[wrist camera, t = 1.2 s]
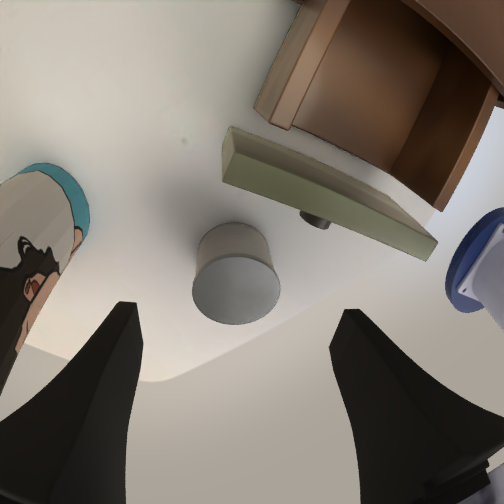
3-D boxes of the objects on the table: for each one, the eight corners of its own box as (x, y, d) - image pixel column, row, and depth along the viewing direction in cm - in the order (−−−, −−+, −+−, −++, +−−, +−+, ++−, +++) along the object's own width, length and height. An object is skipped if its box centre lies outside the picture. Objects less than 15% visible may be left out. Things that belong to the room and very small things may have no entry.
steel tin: (282, 234, 20) (295, 271, 16) (253, 290, 22) (259, 332, 18) (210, 210, 18) (208, 245, 15) (187, 272, 20) (182, 313, 17)
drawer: (369, 227, 19) (412, 281, 14) (213, 166, 16) (210, 212, 11) (461, 38, 12) (528, 44, 7) (319, -58, 9) (361, -102, 4)
